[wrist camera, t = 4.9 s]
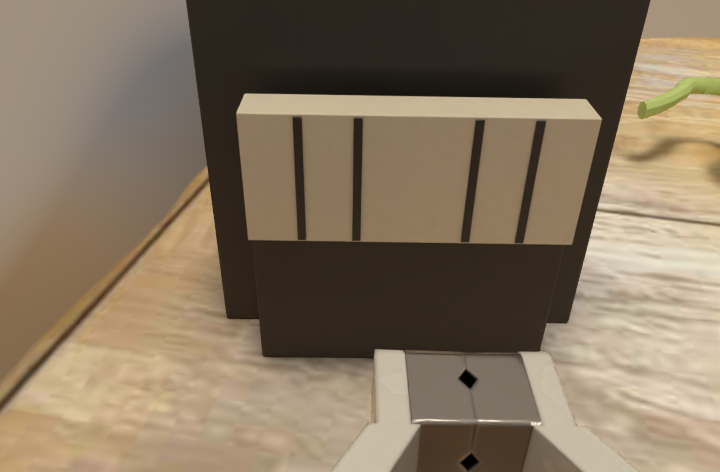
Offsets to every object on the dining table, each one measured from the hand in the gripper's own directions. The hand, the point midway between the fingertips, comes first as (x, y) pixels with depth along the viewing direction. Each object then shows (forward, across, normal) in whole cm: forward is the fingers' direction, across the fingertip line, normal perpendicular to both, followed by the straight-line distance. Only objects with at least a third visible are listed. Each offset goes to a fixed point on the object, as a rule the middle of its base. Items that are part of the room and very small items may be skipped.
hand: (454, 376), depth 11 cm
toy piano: (+17, 0, -11) cm, 21 cm away
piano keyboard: (+12, 0, -5) cm, 13 cm away
